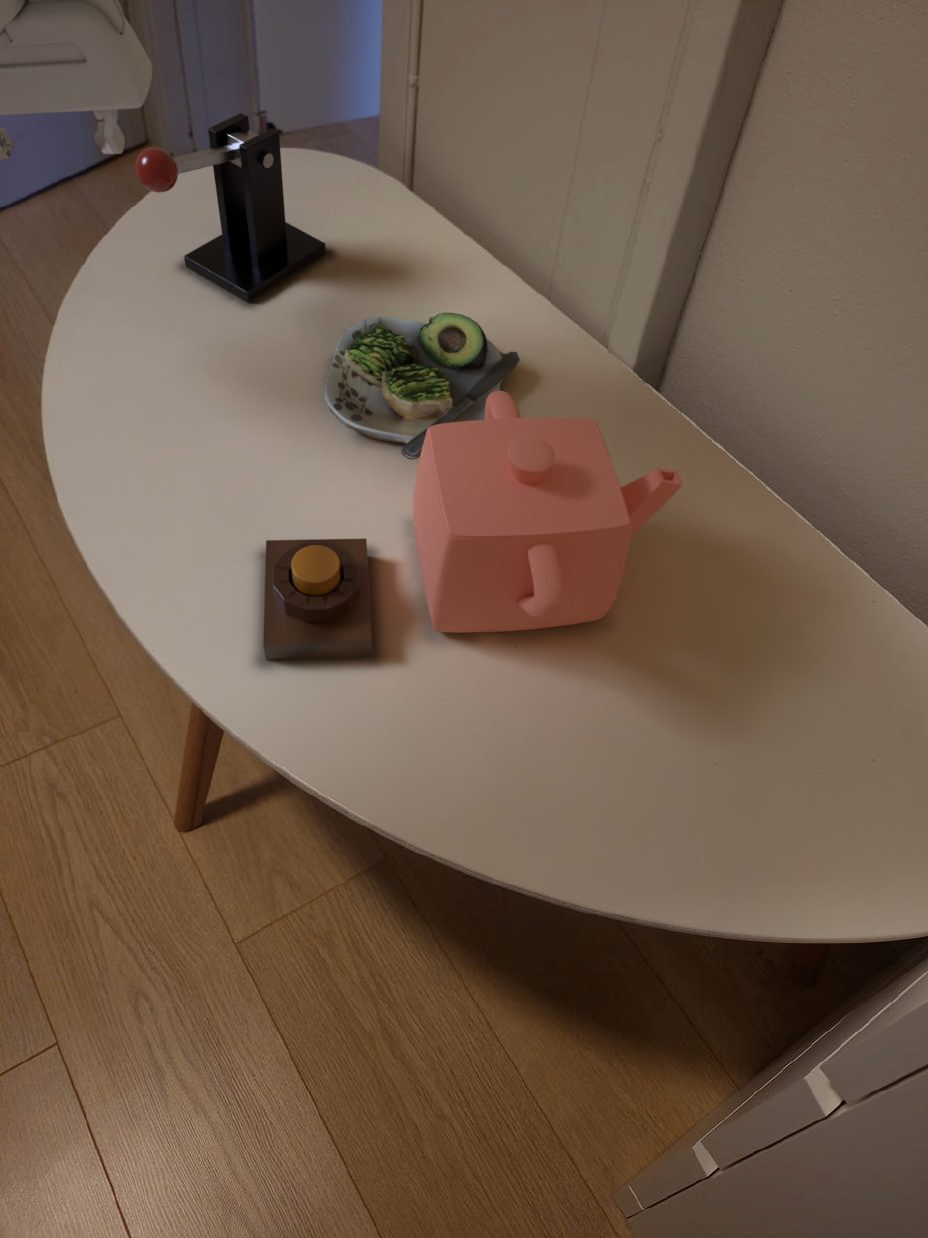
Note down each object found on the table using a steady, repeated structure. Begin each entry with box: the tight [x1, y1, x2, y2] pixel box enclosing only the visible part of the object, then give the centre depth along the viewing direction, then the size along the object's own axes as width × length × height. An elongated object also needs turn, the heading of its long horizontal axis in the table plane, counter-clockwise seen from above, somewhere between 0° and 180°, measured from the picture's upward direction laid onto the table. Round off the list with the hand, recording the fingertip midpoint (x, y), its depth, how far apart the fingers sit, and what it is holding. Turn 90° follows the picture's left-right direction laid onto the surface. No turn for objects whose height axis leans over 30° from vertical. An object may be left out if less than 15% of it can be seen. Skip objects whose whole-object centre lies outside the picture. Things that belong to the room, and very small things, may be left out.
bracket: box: [183, 112, 326, 304], centre depth 92 cm, size 12×9×14 cm
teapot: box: [412, 390, 684, 633], centre depth 71 cm, size 20×22×14 cm
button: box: [291, 545, 340, 596], centre depth 69 cm, size 4×4×2 cm
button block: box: [262, 538, 373, 661], centre depth 71 cm, size 8×10×4 cm
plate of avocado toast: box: [323, 312, 521, 460], centre depth 85 cm, size 19×18×5 cm
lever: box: [134, 129, 259, 194], centre depth 84 cm, size 14×4×4 cm, turn 144°
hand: (59, 150), depth 73 cm, fingers open, 8 cm apart
